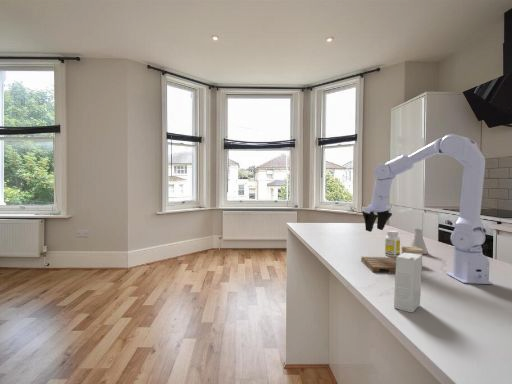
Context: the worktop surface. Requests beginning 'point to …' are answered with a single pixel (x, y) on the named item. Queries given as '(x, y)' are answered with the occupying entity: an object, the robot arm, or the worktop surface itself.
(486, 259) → the robot arm
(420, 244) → the flask
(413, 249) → the cardboard box
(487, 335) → the worktop surface
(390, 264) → the pallet
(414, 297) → the skincare box
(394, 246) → the supplement bottle
